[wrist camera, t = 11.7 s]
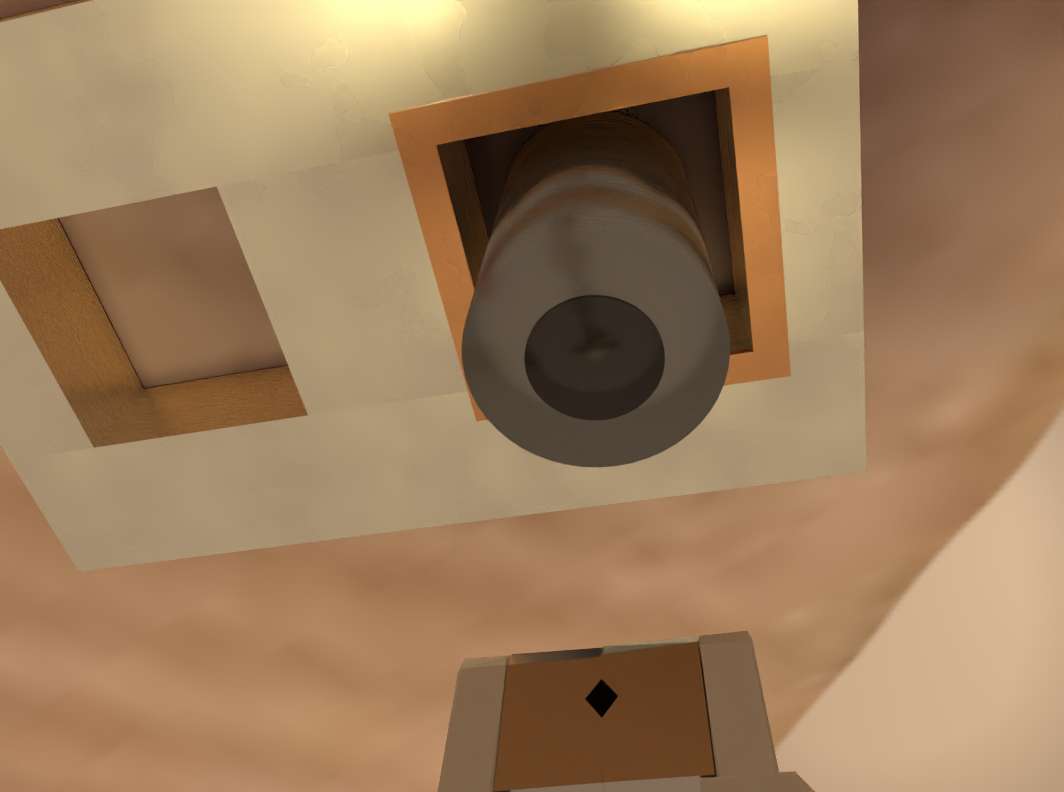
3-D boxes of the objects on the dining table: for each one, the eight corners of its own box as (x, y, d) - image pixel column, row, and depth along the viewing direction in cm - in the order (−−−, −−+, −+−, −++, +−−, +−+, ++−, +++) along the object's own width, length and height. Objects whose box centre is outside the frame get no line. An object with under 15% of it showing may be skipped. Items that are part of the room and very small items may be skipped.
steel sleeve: (485, 131, 21) (429, 260, 14) (676, 92, 20) (715, 209, 14) (525, 302, 24) (495, 485, 17) (699, 272, 23) (742, 452, 16)
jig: (-130, 50, 21) (-235, 78, 18) (816, -177, 18) (856, -183, 15) (125, 506, 28) (76, 575, 25) (838, 407, 25) (868, 475, 22)
